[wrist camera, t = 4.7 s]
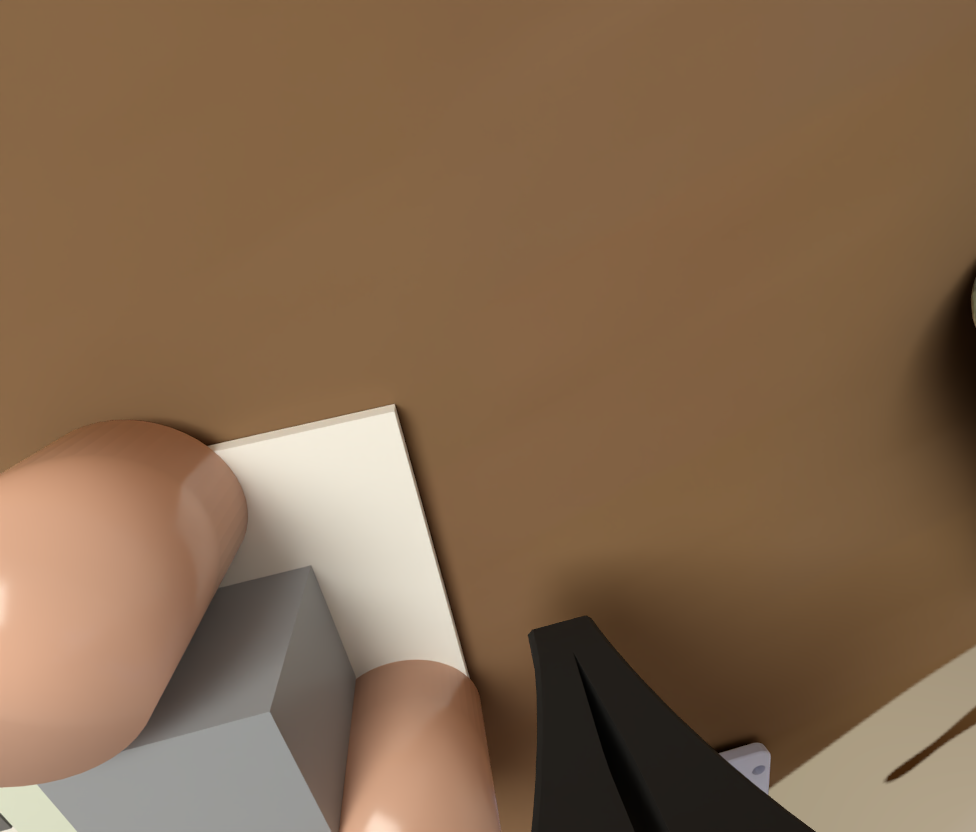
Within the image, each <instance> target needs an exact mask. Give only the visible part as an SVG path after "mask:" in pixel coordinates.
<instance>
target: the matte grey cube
mask: <svg viewBox="0 0 976 832" xmlns="http://www.w3.org/2000/svg"><path fill="white" fill-rule="evenodd" d="M355 683H356V676H355V674H354V671H353V669H352V666H351V664H350V661H349V659H348V656H347V654H346V651H345V649H344V646H343V643H342V641H341V638H340V636H339V633H338V631H337V628H336V626H335V623H334V621H333V618H332V616H331V613H330V611H329V608H328V606H327V603H326V601H325V598H324V596H323V593H322V591H321V588H320V586H319V583H318V581H317V578H316V576H315V573H314V571H313V568H312V566H311V565H310V566H306V567H302V568H298V569H294V570H290V571H286V572H282V573H278V574H274V575H270V576H266V577H262V578H258V579H253V580H249V581H245V582H241V583H237V584H233V585H229V586H225V587H221V588H218V590H217V591H216V593H215V595H214V597H213V599H212V601H211V603H210V605H209V607H208V609H207V610H206V612H205V614H204V616H203V618H202V620H201V622H200V624H199V626H198V628H197V629H196V631H195V633H194V635H193V637H192V639H191V641H190V643H189V645H188V647H187V648H186V650H185V652H184V654H183V656H182V658H181V660H180V662H179V664H178V666H177V667H176V669H175V671H174V673H173V675H172V677H171V679H170V681H169V683H168V684H167V686H166V688H165V690H164V692H163V694H162V696H161V698H160V700H159V702H158V703H157V705H156V707H155V709H154V711H153V713H152V715H151V717H150V719H149V721H148V722H147V724H146V726H145V727H144V729H143V730H142V731H141V733H140V734H139V735H138V737H137V738H136V739H135V740H134V741H133V742H132V743H131V744H130V745H129V746H128V747H127V748H125V749H124V750H123V751H121V752H120V753H119V754H117V755H116V756H114V757H113V758H111V759H110V760H108V761H106V762H104V763H103V764H101V765H99V766H97V767H95V768H92V769H90V770H88V771H85V772H83V773H81V774H77V775H74V776H71V777H68V778H65V779H61V780H57V781H52V782H48V783H43V784H37V785H38V786H39V788H40V789H41V790H42V791H43V792H44V793H45V795H46V796H47V797H48V798H49V799H50V800H51V802H52V803H53V804H54V805H55V806H56V807H57V809H58V810H59V811H60V812H61V813H62V815H63V816H64V817H65V818H66V819H67V820H68V822H69V823H70V824H71V825H72V826H73V827H74V829H75V830H76V831H77V832H339V825H340V816H341V807H342V798H343V789H344V781H345V772H346V763H347V754H348V745H349V736H350V727H351V718H352V710H353V701H354V692H355Z"/></svg>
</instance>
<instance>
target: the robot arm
mask: <svg viewBox="0 0 976 832" xmlns="http://www.w3.org/2000/svg"><path fill="white" fill-rule="evenodd" d="M528 638H529V643H530V648H531V653H532V658H533V663H534V668H535V678H536V691H537V756H536V781H535V795H534V809H533V820H532V830H531V832H815V831H814V830H813V829H811V828H810V827H808V826H807V825H806V824H805V823H803V822H802V821H801V820H799V819H798V818H797V817H795V816H794V815H792V814H791V813H790V812H788V811H787V810H786V809H784V808H783V807H782V806H781V805H780V804H778V803H777V802H776V801H775V800H773V799H772V798H771V797H770V796H768V790H769V775H770V761H771V755H770V753H769V751H768V750H767V748H766V747H765V746H764V745H763V744H762V743H751V744H748V745H745V746H741V747H738V748H734V749H731V750H728V751H724V752H721V753H717V752H716V751H715V750H714V749H713V748H712V747H711V746H710V745H708V744H707V743H706V742H705V741H704V740H703V739H702V738H701V737H700V736H699V735H698V734H696V733H695V732H694V731H693V730H692V729H691V728H690V727H689V726H688V725H687V724H686V723H685V722H684V721H683V720H682V719H681V718H680V717H679V716H678V715H677V714H676V713H675V712H673V711H672V710H671V709H670V708H669V707H668V706H667V705H666V704H665V703H664V702H663V701H662V699H661V698H660V697H659V696H658V695H657V694H656V693H655V692H654V691H653V690H652V689H651V688H650V687H649V686H648V685H647V684H646V683H645V682H644V681H643V680H642V679H641V678H640V676H639V675H638V674H637V673H636V672H635V671H634V670H633V669H632V668H631V667H630V665H629V664H628V663H627V662H626V661H625V660H624V659H623V657H622V656H621V655H620V654H619V653H618V652H617V651H616V649H615V648H614V647H613V646H612V645H611V643H610V642H609V641H608V640H607V638H606V637H605V636H604V635H603V633H602V632H601V631H600V629H599V628H598V627H597V626H596V624H595V623H594V621H593V620H592V619H591V618H590V617H588V616H582V617H578V618H574V619H571V620H567V621H563V622H560V623H556V624H552V625H548V626H545V627H541V628H537V629H533V630H532V631H531V632H530V633H529V634H528Z"/></svg>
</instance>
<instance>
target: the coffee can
mask: <svg viewBox="0 0 976 832" xmlns="http://www.w3.org/2000/svg"><path fill="white" fill-rule="evenodd" d="M971 306H972V316H973V320H974V323H975V326H976V278H975V281H974V285H973V289H972V295H971Z"/></svg>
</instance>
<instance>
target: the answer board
mask: <svg viewBox="0 0 976 832" xmlns="http://www.w3.org/2000/svg"><path fill="white" fill-rule="evenodd" d="M207 447H209V448H210V449H212V450H213V451H214V452H215V453H216V454H217V455H218V456H220V457H221V458H222V460H223V461H224V462H225V463H226V464H227V465H228V466H229V467H230V469H231V470H232V471H233V473H234V474H235V476H236V477H237V479H238V481H239V483H240V485H241V487H242V489H243V492H244V495H245V498H246V502H247V508H248V524H247V530H246V534H245V537H244V540H243V542H242V544H241V546H240V548H239V550H238V552H237V554H236V555H235V557H234V559H233V561H232V563H231V565H230V567H229V569H228V571H227V573H226V574H225V576H224V578H223V580H222V582H221V584H220V586H219V588H221V587H225V586H229V585H233V584H237V583H241V582H245V581H249V580H253V579H258V578H262V577H266V576H270V575H274V574H278V573H282V572H286V571H290V570H294V569H298V568H302V567H306V566H310V565H311V566H312V568H313V571H314V573H315V576H316V578H317V581H318V583H319V586H320V588H321V591H322V593H323V596H324V598H325V601H326V603H327V606H328V608H329V611H330V613H331V616H332V618H333V621H334V623H335V626H336V628H337V631H338V633H339V636H340V638H341V641H342V643H343V646H344V649H345V651H346V654H347V656H348V659H349V661H350V664H351V666H352V669H353V671H354V674H355V676H356V679H357V678H358V677H360V676H361V675H363V674H364V673H366V672H368V671H370V670H372V669H374V668H377V667H379V666H382V665H385V664H388V663H392V662H397V661H404V660H430V661H436V662H440V663H443V664H447V665H449V666H452V667H454V668H456V669H458V670H459V671H461V672H462V673H464V674H465V675H466V676H467V677H469V674H468V670H467V666H466V663H465V659H464V656H463V652H462V648H461V645H460V641H459V637H458V634H457V630H456V626H455V623H454V619H453V615H452V612H451V608H450V604H449V601H448V597H447V593H446V590H445V586H444V582H443V579H442V575H441V571H440V568H439V564H438V560H437V557H436V553H435V549H434V546H433V542H432V538H431V535H430V531H429V527H428V524H427V520H426V516H425V513H424V509H423V506H422V502H421V498H420V495H419V491H418V487H417V484H416V480H415V476H414V473H413V469H412V465H411V462H410V458H409V454H408V451H407V447H406V443H405V440H404V436H403V432H402V429H401V425H400V421H399V418H398V414H397V410H396V407H395V404H393V405H388V406H384V407H379V408H375V409H370V410H366V411H361V412H357V413H352V414H348V415H344V416H339V417H335V418H330V419H326V420H321V421H317V422H312V423H308V424H303V425H299V426H294V427H290V428H285V429H281V430H277V431H272V432H268V433H263V434H259V435H254V436H250V437H245V438H241V439H236V440H232V441H227V442H223V443H218V444H214V445H210V446H207ZM469 678H470V677H469ZM0 832H77V831H76V830H75V829H74V827H73V826H72V825H71V824H70V823H69V822H68V820H67V819H66V818H65V817H64V816H63V815H62V813H61V812H60V811H59V810H58V809H57V807H56V806H55V805H54V804H53V803H52V802H51V800H50V799H49V798H48V797H47V796H46V795H45V793H44V792H43V791H42V790H41V789H40V788H39V786H38V785H37V784H36V785H29V786H20V787H3V788H0Z"/></svg>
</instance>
